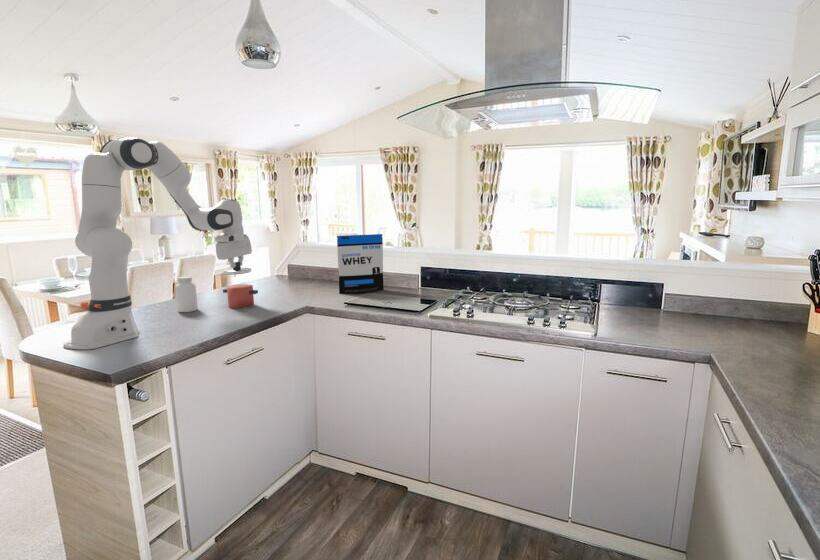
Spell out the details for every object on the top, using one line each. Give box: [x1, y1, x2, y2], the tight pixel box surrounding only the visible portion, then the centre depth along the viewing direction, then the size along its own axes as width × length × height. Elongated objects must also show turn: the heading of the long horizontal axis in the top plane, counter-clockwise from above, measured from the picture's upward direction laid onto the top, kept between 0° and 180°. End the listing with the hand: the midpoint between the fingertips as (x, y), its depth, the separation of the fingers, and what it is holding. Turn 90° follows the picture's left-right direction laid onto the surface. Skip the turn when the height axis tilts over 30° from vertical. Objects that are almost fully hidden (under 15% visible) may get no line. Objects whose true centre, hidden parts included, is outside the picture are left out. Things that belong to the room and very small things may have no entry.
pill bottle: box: [175, 276, 199, 313], centre depth 190 cm, size 8×8×15 cm
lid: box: [222, 261, 252, 275], centre depth 195 cm, size 12×12×4 cm
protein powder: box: [336, 233, 385, 295], centre depth 225 cm, size 10×24×30 cm, turn 113°
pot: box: [222, 283, 259, 310], centre depth 198 cm, size 11×17×9 cm, turn 75°
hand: (236, 266), depth 195 cm, fingers closed on lid, 3 cm apart
